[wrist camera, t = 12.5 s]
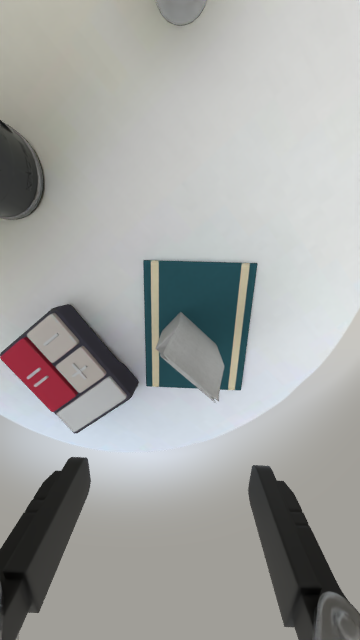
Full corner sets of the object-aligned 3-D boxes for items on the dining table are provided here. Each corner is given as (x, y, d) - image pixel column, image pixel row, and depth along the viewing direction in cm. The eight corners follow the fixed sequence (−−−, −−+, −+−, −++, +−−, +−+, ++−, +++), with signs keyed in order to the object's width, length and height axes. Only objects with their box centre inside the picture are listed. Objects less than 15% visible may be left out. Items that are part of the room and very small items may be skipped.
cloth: (146, 384, 29) (146, 386, 29) (144, 260, 24) (143, 260, 24) (240, 388, 29) (240, 390, 28) (256, 263, 24) (257, 263, 24)
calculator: (49, 307, 23) (131, 400, 25) (72, 302, 27) (140, 382, 29) (-9, 357, 25) (71, 439, 27) (21, 345, 29) (88, 417, 31)
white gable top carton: (180, 311, 26) (176, 339, 16) (216, 344, 27) (233, 389, 17) (162, 330, 26) (148, 368, 17) (197, 361, 27) (203, 413, 18)
